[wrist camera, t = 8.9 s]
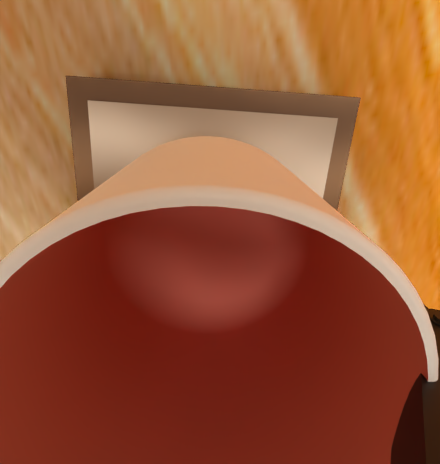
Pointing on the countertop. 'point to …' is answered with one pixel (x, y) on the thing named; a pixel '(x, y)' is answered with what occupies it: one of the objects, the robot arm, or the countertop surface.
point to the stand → (208, 127)
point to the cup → (205, 322)
